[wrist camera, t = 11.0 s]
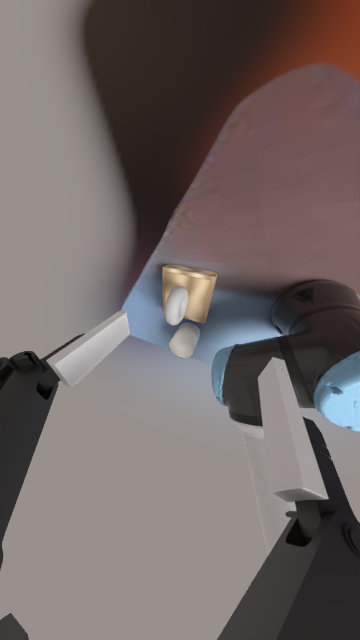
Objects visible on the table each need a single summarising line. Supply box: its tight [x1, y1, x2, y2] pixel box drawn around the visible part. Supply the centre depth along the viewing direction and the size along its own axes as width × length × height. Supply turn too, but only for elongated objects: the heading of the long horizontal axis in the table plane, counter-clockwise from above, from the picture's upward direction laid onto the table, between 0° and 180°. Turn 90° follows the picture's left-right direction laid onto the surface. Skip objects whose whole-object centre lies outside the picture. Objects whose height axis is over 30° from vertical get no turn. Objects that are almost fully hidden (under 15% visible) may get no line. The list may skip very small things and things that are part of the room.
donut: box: [165, 286, 188, 325], centre depth 34 cm, size 10×4×10 cm, turn 175°
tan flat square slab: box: [162, 264, 218, 324], centre depth 40 cm, size 14×14×4 cm
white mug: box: [169, 322, 200, 358], centre depth 47 cm, size 8×11×9 cm
